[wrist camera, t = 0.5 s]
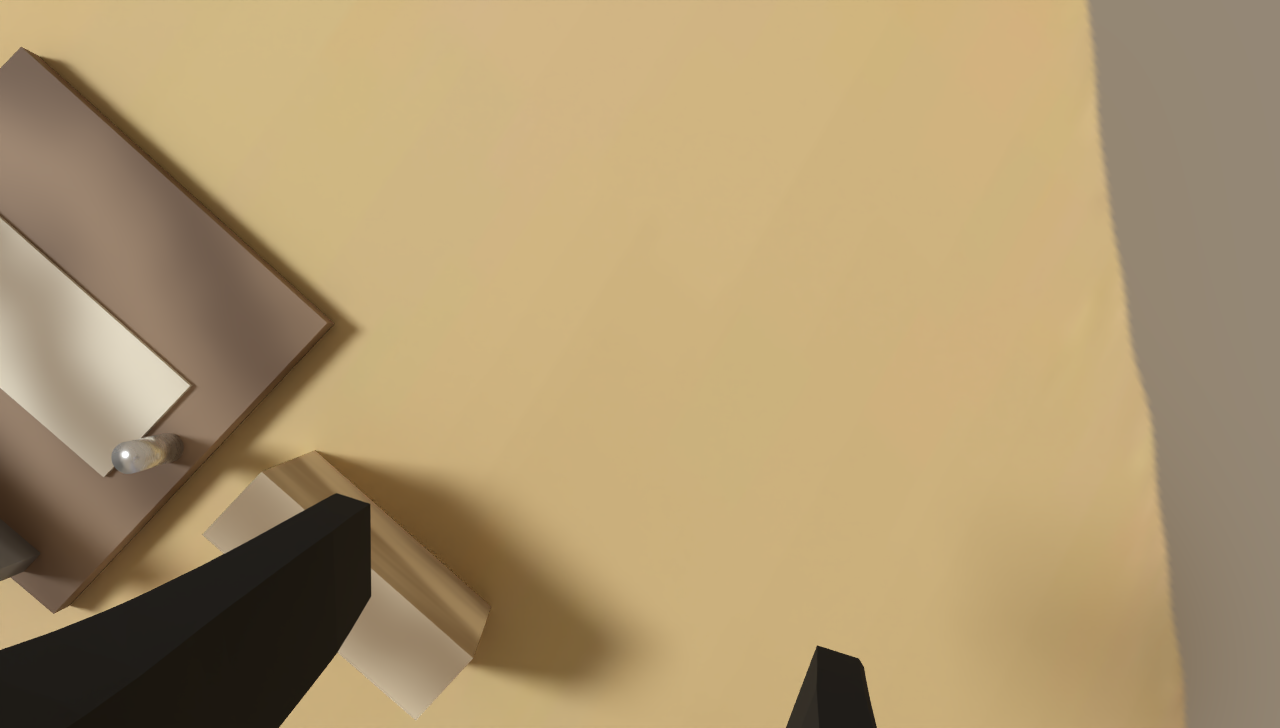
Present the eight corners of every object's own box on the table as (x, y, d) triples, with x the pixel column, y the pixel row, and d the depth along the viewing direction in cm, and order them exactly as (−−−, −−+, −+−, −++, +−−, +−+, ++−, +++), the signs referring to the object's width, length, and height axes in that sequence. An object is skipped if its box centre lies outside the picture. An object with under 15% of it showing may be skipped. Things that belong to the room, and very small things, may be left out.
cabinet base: (69, 605, 35) (-18, 650, 30) (-240, 343, 34) (-384, 343, 29) (334, 323, 35) (293, 320, 30) (37, 55, 34) (-57, 6, 29)
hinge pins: (169, 468, 34) (129, 480, 31) (-120, 215, 33) (-190, 203, 30) (190, 446, 34) (152, 456, 31) (-99, 193, 33) (-167, 178, 30)
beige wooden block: (443, 658, 36) (415, 720, 30) (267, 502, 35) (202, 534, 29) (491, 606, 36) (473, 658, 30) (315, 449, 35) (261, 471, 29)
